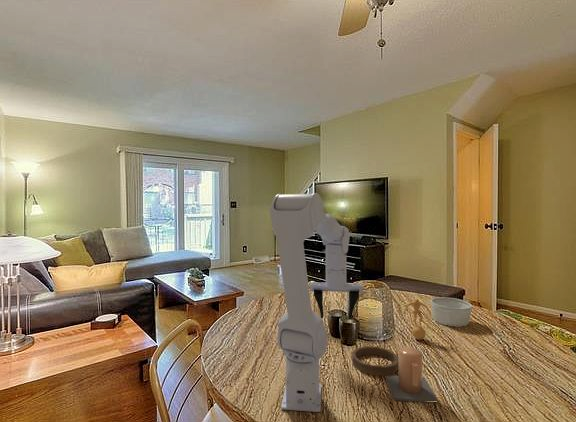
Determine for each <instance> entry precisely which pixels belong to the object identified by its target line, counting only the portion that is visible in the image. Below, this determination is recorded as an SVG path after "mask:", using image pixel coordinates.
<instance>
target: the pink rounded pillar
mask: <svg viewBox="0 0 576 422" xmlns="http://www.w3.org/2000/svg"><path fill="white" fill-rule="evenodd" d="M398 359H399V360H398V370H397V371H398V372H397V373H398V375H397V376H398V386H399V388H400V389H401V390H403V391H405V392H407V393H412V394H417V393H420V392H421V391H422V377H423V352H422V351H421V350H420V349H417V348H415V347H412V346H411V347H410V346H401V347H399V348H398Z"/></svg>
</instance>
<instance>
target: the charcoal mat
mask: <svg viewBox="0 0 576 422" xmlns="http://www.w3.org/2000/svg"><path fill="white" fill-rule="evenodd" d="M385 379H386V382H387V384H388V388H389V390H390V394H391V396H392V399H393V400H394V401H398V400H400V401H401V400H402V401H403V402H413V401H437V402H438V403H439V400H438V397H437V396H436V395H435V392H434V391H433V389H432V387H431V386H430V384H429V382H428V381H427V379H426V378H425V377H423V376H422V391H421V392H420V393H417V394H412V393H407V392H405V391H403V390H401V389H400V388H399V386H398V375H391V374H390V375H386V376H385ZM402 401H401V402H402Z"/></svg>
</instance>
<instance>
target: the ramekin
mask: <svg viewBox="0 0 576 422" xmlns="http://www.w3.org/2000/svg"><path fill="white" fill-rule="evenodd" d="M430 305H431V316H432V318H433V320H434V321H435V322H436V321H437V323H438V324H440V325H444V326H446V325H448V326H447V327H452V326H455V327H454V328H463V327H462V326H464V327H466V326H468V325H469V323H470V322H471V321H470V320H471V316H472V310H473V306H472V304H471V303H470V302H468V301H466V300H463V299H459V298H454V297H447V296H446V297H445V296H444V297H443V296H441V297H440V296H439V297H433V298H431V299H430Z"/></svg>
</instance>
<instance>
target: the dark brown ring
mask: <svg viewBox="0 0 576 422" xmlns="http://www.w3.org/2000/svg"><path fill="white" fill-rule="evenodd" d="M366 355H371V356H380V357H383V358H387V359H388V360H390V361H391V362H392V363H389V364H387V365H386V364H385V365H375V364H369V363H366V362H363V361H362V360H360V359H359V357H362V356H366ZM351 360H352V366H354V367H355V368H356V369H357V370H358V371H360V372H362V373H365V374H368V375H371V376H382V377H383V376H384V377H386V375H390V376H391V375H393V374H396V373H397V371H398V360H399V356H398V355H397V354H396V353H395V352H394V351H391V350H390V349H388V348H384V347H381V346H375V345H374V346H373V345H365V346H360V347H356V348H355V349H354V350H353V351H351Z"/></svg>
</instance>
